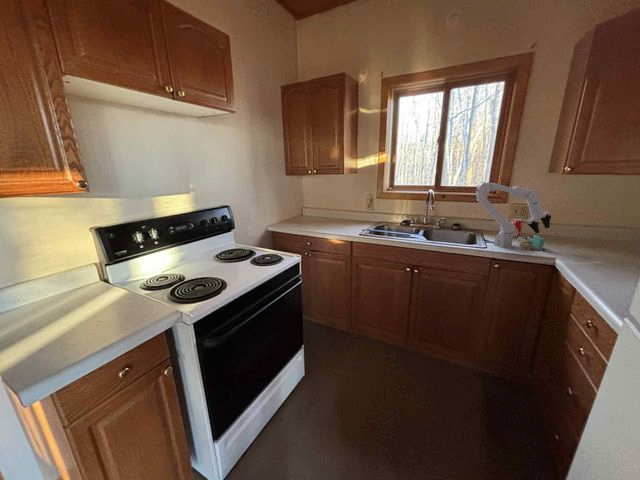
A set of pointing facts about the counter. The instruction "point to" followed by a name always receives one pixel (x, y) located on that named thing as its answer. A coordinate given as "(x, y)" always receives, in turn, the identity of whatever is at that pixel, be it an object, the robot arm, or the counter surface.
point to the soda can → (517, 227)
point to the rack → (534, 248)
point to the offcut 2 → (526, 246)
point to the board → (538, 242)
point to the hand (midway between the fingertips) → (542, 230)
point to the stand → (526, 239)
